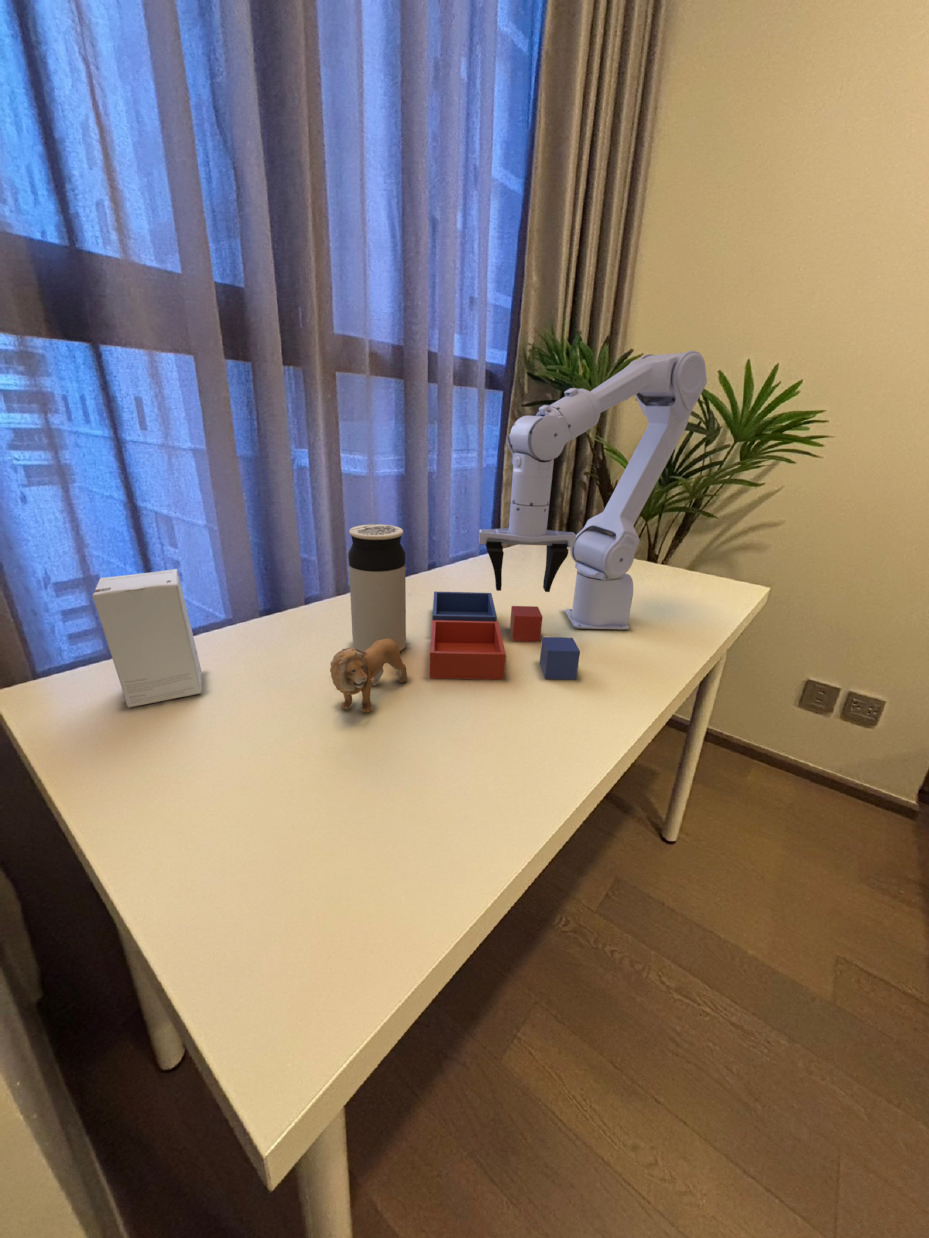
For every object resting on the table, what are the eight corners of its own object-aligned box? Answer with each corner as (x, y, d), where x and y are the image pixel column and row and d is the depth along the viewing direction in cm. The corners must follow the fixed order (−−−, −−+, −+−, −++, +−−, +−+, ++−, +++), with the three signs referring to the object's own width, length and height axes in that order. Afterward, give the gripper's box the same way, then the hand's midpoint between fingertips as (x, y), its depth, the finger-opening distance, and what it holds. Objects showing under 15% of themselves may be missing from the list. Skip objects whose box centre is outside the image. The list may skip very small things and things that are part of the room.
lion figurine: (363, 733, 57) (360, 662, 53) (322, 723, 58) (316, 653, 55) (414, 673, 70) (414, 613, 66) (379, 666, 71) (377, 607, 67)
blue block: (569, 664, 74) (572, 637, 72) (576, 679, 70) (580, 651, 68) (539, 664, 74) (542, 636, 72) (544, 679, 70) (548, 650, 68)
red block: (535, 630, 85) (538, 606, 83) (540, 641, 81) (542, 616, 79) (509, 630, 85) (511, 605, 83) (512, 641, 81) (514, 615, 79)
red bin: (496, 644, 79) (498, 621, 78) (504, 679, 69) (506, 654, 67) (431, 642, 79) (432, 619, 77) (429, 678, 69) (429, 652, 67)
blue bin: (490, 612, 91) (491, 592, 90) (495, 639, 81) (497, 616, 79) (433, 611, 91) (434, 591, 89) (432, 638, 81) (432, 615, 79)
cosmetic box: (202, 674, 67) (182, 567, 61) (202, 696, 62) (180, 582, 56) (128, 686, 64) (99, 574, 58) (122, 710, 59) (90, 590, 53)
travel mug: (416, 647, 77) (416, 531, 70) (375, 663, 72) (370, 539, 65) (383, 631, 82) (381, 521, 75) (342, 645, 77) (335, 528, 70)
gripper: (572, 499, 79) (562, 582, 84) (479, 496, 78) (475, 580, 83) (583, 508, 72) (571, 597, 77) (482, 504, 72) (477, 594, 77)
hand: (522, 589), depth 80 cm, fingers open, 7 cm apart
